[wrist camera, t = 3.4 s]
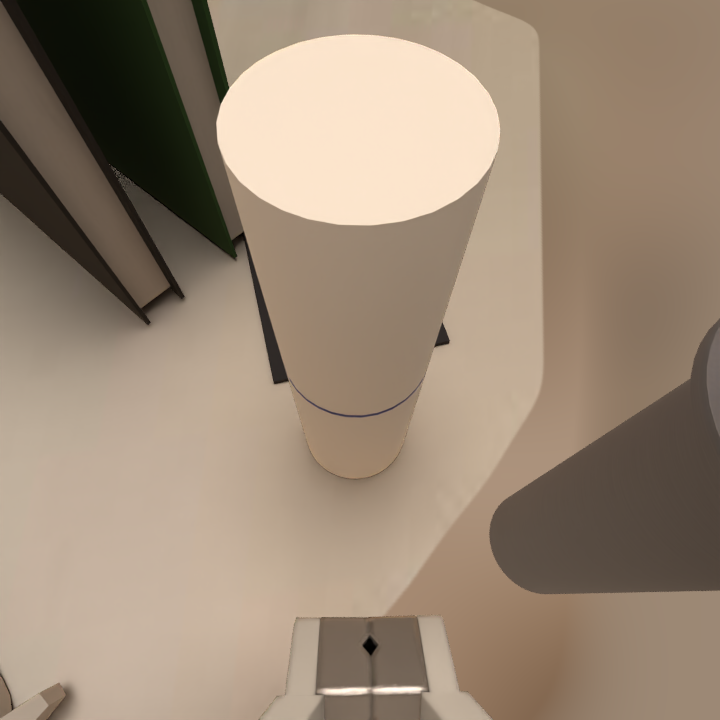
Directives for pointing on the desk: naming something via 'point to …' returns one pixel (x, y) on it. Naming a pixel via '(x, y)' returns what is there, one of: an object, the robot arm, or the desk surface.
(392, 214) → the cylindrical container
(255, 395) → the desk surface
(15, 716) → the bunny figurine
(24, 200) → the ring binders
